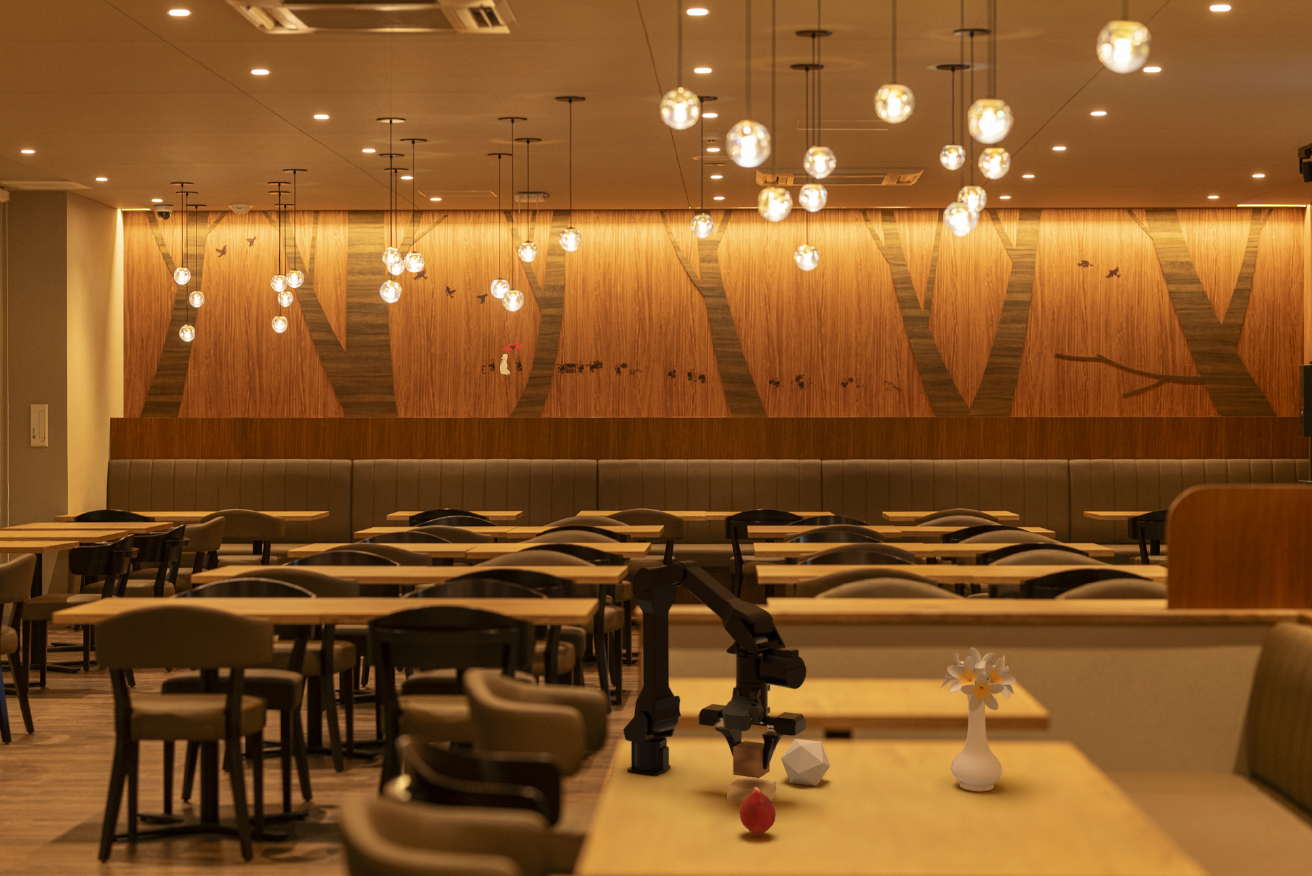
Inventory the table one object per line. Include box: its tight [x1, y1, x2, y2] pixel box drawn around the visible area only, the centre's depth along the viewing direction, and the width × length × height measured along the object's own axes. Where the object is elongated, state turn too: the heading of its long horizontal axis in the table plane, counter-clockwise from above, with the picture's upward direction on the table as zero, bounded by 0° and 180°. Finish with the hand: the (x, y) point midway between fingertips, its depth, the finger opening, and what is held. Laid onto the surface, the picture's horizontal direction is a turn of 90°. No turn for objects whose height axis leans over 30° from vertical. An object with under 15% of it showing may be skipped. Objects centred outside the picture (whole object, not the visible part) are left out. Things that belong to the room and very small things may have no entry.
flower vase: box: [940, 646, 1017, 793], centre depth 238 cm, size 13×18×25 cm
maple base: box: [726, 776, 777, 805], centre depth 232 cm, size 7×7×3 cm
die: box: [780, 738, 831, 787], centre depth 242 cm, size 8×9×10 cm
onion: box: [739, 787, 777, 838], centre depth 211 cm, size 6×6×8 cm
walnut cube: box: [732, 740, 771, 779], centre depth 232 cm, size 5×5×5 cm
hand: (751, 767), depth 232 cm, fingers closed on walnut cube, 5 cm apart
